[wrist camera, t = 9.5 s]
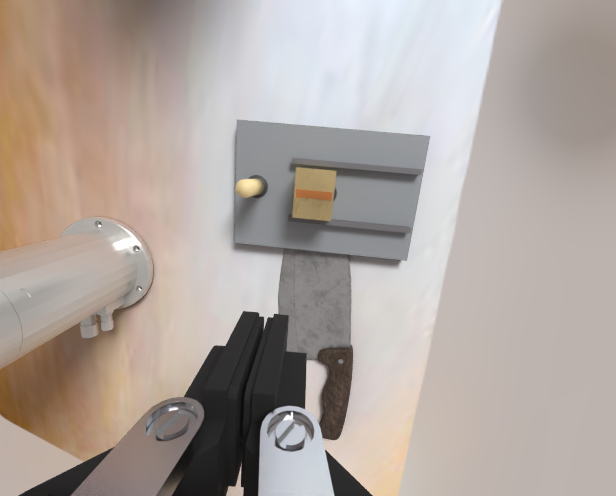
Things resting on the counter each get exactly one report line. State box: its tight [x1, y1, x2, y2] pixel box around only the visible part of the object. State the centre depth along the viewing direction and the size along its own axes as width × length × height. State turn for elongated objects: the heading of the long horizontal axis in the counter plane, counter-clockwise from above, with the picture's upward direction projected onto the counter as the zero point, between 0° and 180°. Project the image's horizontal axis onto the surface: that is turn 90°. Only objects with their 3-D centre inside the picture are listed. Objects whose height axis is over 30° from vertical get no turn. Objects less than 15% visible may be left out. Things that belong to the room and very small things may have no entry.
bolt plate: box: [234, 120, 430, 261], centre depth 31 cm, size 14×21×6 cm, turn 85°
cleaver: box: [278, 248, 353, 440], centre depth 39 cm, size 29×10×2 cm, turn 3°
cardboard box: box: [292, 167, 337, 221], centre depth 30 cm, size 5×4×4 cm
